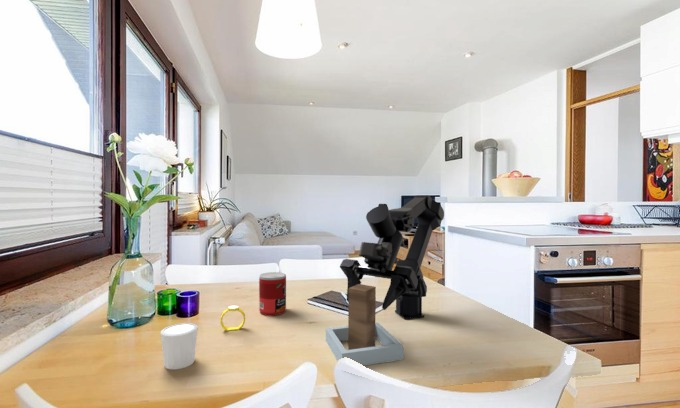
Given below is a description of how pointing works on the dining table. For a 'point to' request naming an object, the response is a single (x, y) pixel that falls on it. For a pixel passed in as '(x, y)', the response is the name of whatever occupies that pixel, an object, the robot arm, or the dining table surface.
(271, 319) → the dining table surface
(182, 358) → the white cup
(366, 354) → the frame
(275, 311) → the canned food
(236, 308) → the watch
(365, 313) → the tall wooden post
